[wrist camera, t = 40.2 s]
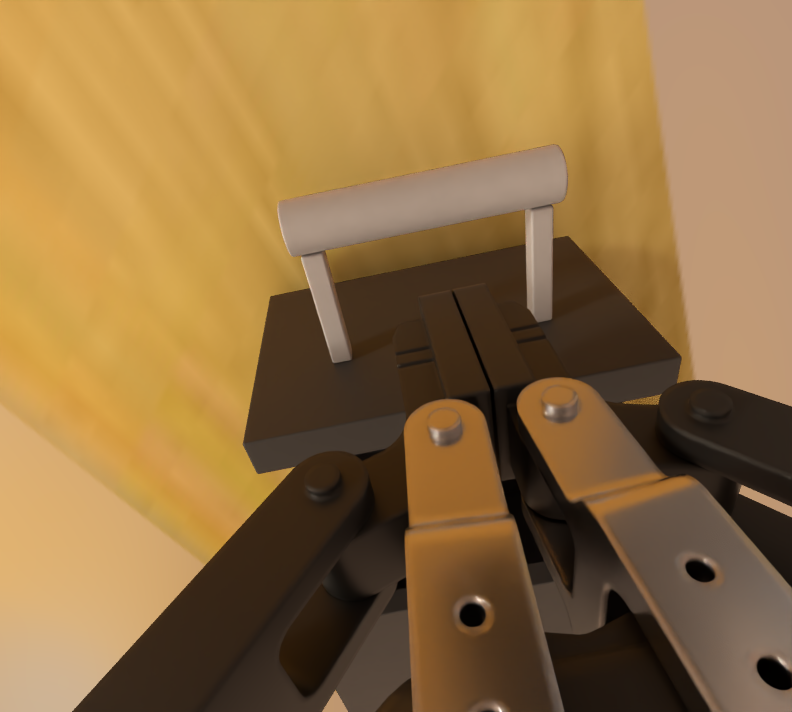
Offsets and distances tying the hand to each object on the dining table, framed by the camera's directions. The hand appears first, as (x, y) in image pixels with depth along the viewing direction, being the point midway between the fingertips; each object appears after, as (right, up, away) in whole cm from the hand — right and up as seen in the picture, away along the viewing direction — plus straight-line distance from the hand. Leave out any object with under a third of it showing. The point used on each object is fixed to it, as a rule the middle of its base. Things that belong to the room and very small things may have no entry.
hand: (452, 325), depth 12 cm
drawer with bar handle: (0, -1, +10) cm, 10 cm away
